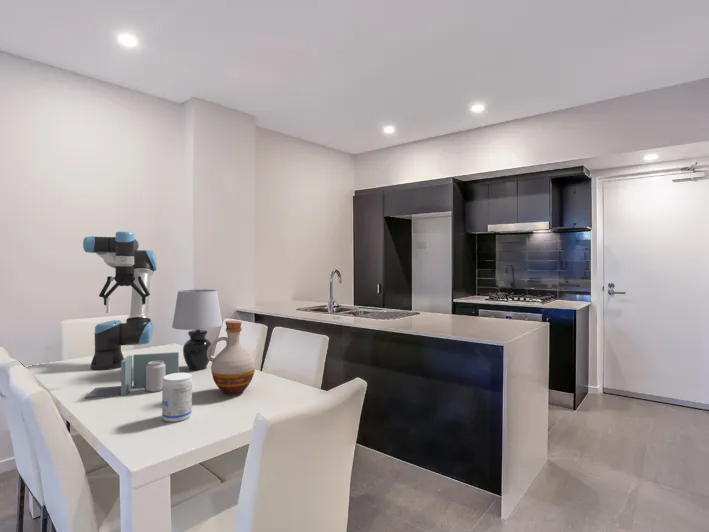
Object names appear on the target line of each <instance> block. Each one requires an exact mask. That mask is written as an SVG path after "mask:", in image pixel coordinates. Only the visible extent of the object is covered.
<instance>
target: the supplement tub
mask: <svg viewBox="0 0 709 532" xmlns="http://www.w3.org/2000/svg"><path fill="white" fill-rule="evenodd" d="M192 376H193V375H192V373H189V372H179V373H173V374H168V375H166V376H164V377H163V386H162V396H161V397H162V398H161V399H162V401H161V402H162V404H161V405H162V409H161V412H162V413H161V416H162V420H163V421H165V422H170V423H175V422H181V421H184V420H187V419H188V418H190V417H191V415H192V413H193V412H192V411H193V410H192V406H193V404H192V403H193V377H192Z"/></svg>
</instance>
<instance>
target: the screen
mask: <svg viewBox="0 0 709 532" xmlns="http://www.w3.org/2000/svg"><path fill="white" fill-rule="evenodd" d="M151 361H164V364H165V365H166V375H168V374H173V373H180V369H179V366H180V362H179V361H180V355H179V351H173V352H155V353H154V352H153V353H135V354H133V355H131V354H130V355H126V357H124V360H122V361H121V367H120V386H121V394H120V397H122V396H123V397H125V396H127V394H128V393H129V392H130V390H131V389H132V388H141V387H142V388H143V387H146V366H147V365H148V363H149V362H151Z"/></svg>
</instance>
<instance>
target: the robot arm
mask: <svg viewBox="0 0 709 532" xmlns="http://www.w3.org/2000/svg"><path fill="white" fill-rule="evenodd" d="M82 248H83V251H84V252H85V253H89V254H93V253H95V254H96V255H97V256H99V257H100V258H101V259H103V262H104V263H105V264H106V265H107V266H109V267H111V268H112V269H115V271H114V272H115V273H114V274H115V276H112V275H111V276H110V275H109V276H108V275H107V277H106V282H105V284H104V286H103V287H102V288H101V291H100V292H99V294H98V297H99V298H102V299H103V306H106V307H105V308H106V310H105V311H106V312H105V313H106V314H109V313H111V297H110V296H111V295H112V294H113V292H115V290H116V289H118V288H119V287H131V288H132V289H131V299H130V312H129V313H130V314H129V317H127V318H126V321H125V322H122V320H119V319H118V320H117V319H115V320H110V321H103V322H101V323H97V324H96V325H95V327H94V333H93V334H94V353H93V357H92V359H91V363H90V369H91V370H94V371H105V370H106V371H107V370H113V369H114V370H115V369H118V368H121V361H122V360H124V359H125V357H124V355H123V352H122V346H136V345H137V346H138V345H139V346H141V345H148V344H149V343H151V341H152V339H153V334H154V326H155V325H154V324H155V323H154V322H153V321H152V319H151V318H150V317H149V306H150V305H149V303H150V296H151V293H150V288H151V287H150V286H151V277H152V276H153V275H154V273H155V271H157V269H158V266H157V258H156V253H155V252H154V251H153V250H149V249H148V250H147V249H145V250H144V249H143V250H142V249H139V248H140V243H139V241H138V240H137V239H135V233H134V232H132V231H117V232H115V235H114V236H94V235H92V236H86V237H84V238H83V241H82ZM114 281H115V283H114V284H113V286H112V287H111V288H110V289H109V287H110V285H111V283H112V282H114ZM108 289H109V290H108ZM107 290H108V291H107Z"/></svg>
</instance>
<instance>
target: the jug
mask: <svg viewBox="0 0 709 532" xmlns="http://www.w3.org/2000/svg"><path fill="white" fill-rule="evenodd" d="M242 323H243V322H242V321H241V320H225V326H226V328H225V332H226V336H227V337H226V336H221V337H218V338H216V339H214V340H213V341H212V342H211V344H210V346H209V348H208V350H207V358H208V360H209V362H211V364H210V365H211V367H210V371H211V375H212V379H213V381H214V384H215V385H216V387H217V388H218V389H219V390H220V391H221V392H222V393H223V394H224V395H226V396H237V395H240V394H242V393H244V391H245V390H247V388H248V387H249V385H250V384H251V382H252V380H253V377H254V374H255V370H256V360H255V358H254V356H253V355H252V354H251V353H250V352H249V351H248V350H246V348H244V347H243V345H242V344H241V343H240V337H241V331H242V330H243V329H242V328H243V327H242ZM221 341H225V343H226V345H225V346H224V347H223V349H222V350H221V351H220V352H218V353H217V354H216V355H215V357H212V355H210V354H211V349H212V350H213V348H214V346H215V345H216V344H217V343H219V342H221Z"/></svg>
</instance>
